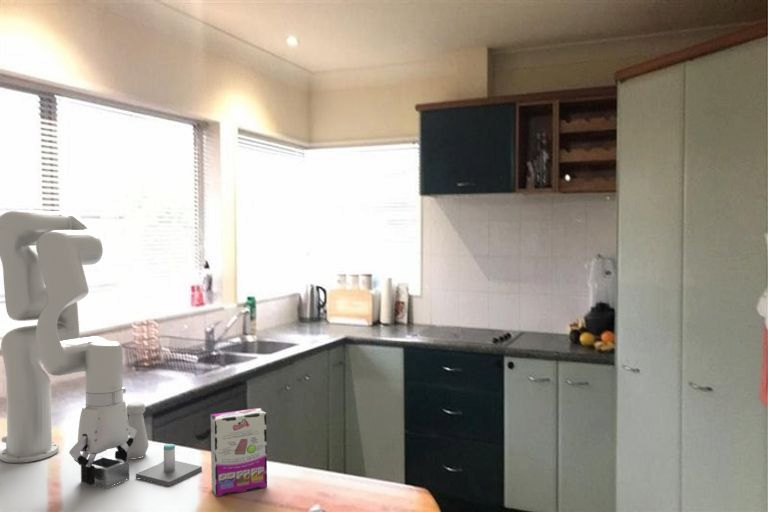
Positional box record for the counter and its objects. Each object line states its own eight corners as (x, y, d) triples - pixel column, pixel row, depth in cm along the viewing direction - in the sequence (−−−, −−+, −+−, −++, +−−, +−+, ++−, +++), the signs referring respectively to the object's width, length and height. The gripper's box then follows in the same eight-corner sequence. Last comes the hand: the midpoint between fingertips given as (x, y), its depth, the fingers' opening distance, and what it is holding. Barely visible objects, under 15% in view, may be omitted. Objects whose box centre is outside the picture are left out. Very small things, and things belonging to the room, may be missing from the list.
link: (80, 481, 137) (80, 463, 137) (103, 472, 142) (103, 455, 142) (106, 488, 133) (106, 470, 133) (129, 478, 139) (129, 461, 139)
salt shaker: (139, 461, 150) (139, 407, 149) (118, 459, 151) (117, 406, 150) (153, 452, 155) (152, 401, 155) (132, 451, 156) (132, 399, 156)
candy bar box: (261, 479, 139) (261, 406, 138) (267, 488, 134) (267, 412, 134) (210, 488, 134) (209, 413, 133) (215, 497, 129) (215, 419, 129)
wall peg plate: (135, 478, 139) (135, 448, 139) (169, 463, 148) (169, 436, 148) (169, 486, 135) (169, 456, 135) (201, 470, 144) (201, 442, 144)
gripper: (124, 387, 147) (124, 460, 147) (57, 405, 131) (58, 487, 132) (147, 391, 143) (148, 466, 144) (81, 409, 128) (82, 494, 128)
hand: (105, 475), depth 138 cm, fingers open, 8 cm apart
